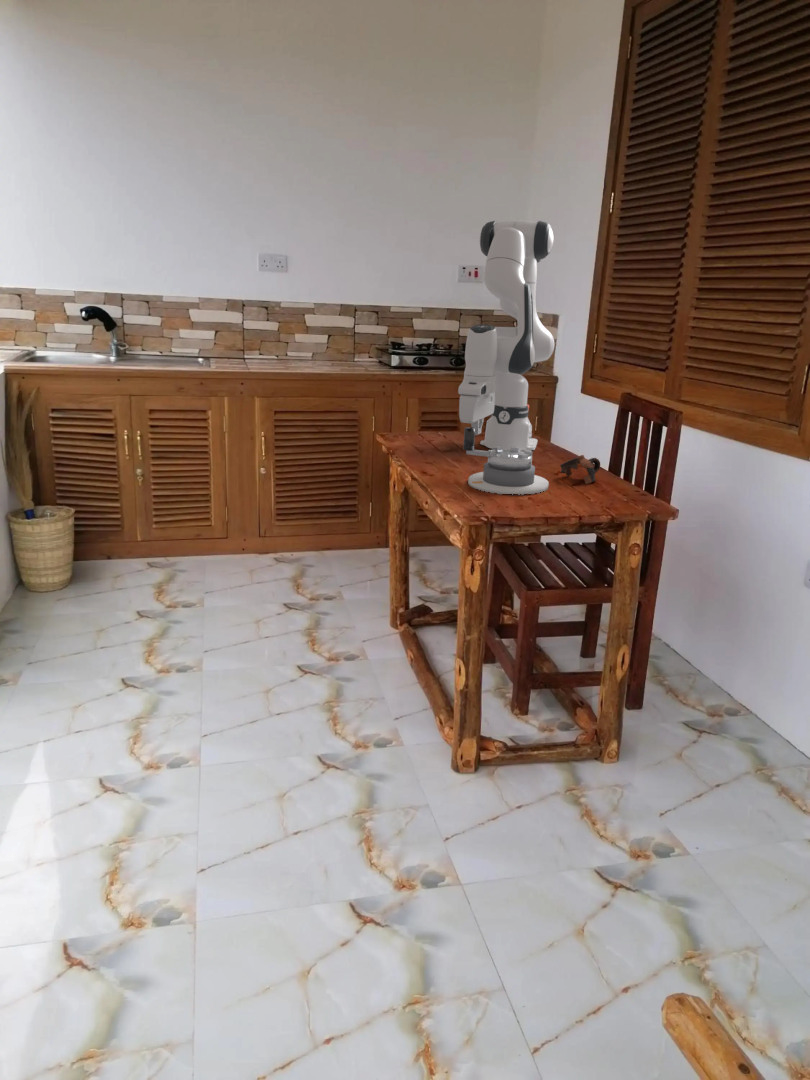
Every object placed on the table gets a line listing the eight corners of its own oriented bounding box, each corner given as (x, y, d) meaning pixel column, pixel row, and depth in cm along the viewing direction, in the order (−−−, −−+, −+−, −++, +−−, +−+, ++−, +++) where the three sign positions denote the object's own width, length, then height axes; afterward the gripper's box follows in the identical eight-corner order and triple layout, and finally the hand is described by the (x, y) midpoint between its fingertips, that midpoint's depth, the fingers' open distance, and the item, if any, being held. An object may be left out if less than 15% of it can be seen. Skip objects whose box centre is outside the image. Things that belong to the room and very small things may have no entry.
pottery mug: (580, 488, 223) (568, 460, 223) (562, 494, 232) (550, 468, 232) (612, 473, 228) (601, 446, 227) (593, 480, 236) (582, 454, 236)
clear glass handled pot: (470, 455, 231) (472, 424, 228) (536, 463, 223) (539, 431, 220) (455, 463, 220) (457, 431, 217) (524, 472, 213) (527, 438, 210)
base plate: (483, 471, 236) (484, 454, 234) (556, 480, 228) (558, 462, 226) (456, 488, 217) (457, 469, 215) (536, 499, 208) (537, 479, 207)
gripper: (480, 380, 234) (477, 427, 238) (456, 388, 216) (453, 439, 221) (501, 382, 232) (498, 429, 236) (478, 390, 214) (475, 441, 218)
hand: (476, 434), depth 228 cm, fingers closed
